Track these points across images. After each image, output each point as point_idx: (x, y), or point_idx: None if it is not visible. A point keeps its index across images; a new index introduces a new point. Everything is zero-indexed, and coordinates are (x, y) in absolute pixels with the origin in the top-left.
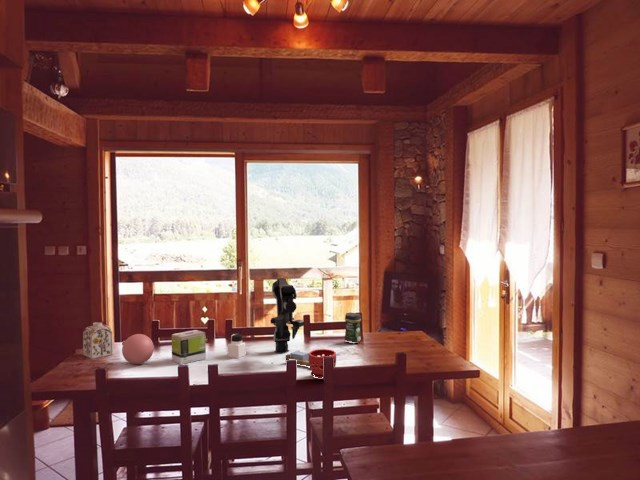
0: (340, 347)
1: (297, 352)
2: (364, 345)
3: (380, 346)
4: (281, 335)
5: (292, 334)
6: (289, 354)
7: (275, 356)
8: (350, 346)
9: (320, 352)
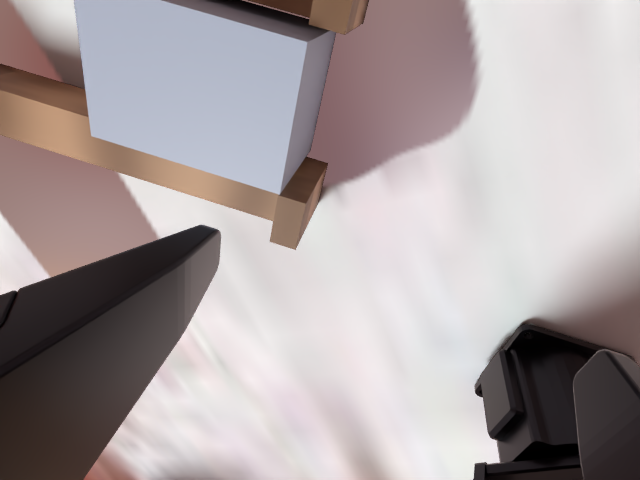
0: (182, 455)
1: (227, 119)
2: (107, 476)
3: None
4: (601, 395)
5: (123, 283)
6: (320, 20)
7: (593, 225)
8: (149, 467)
9: None
